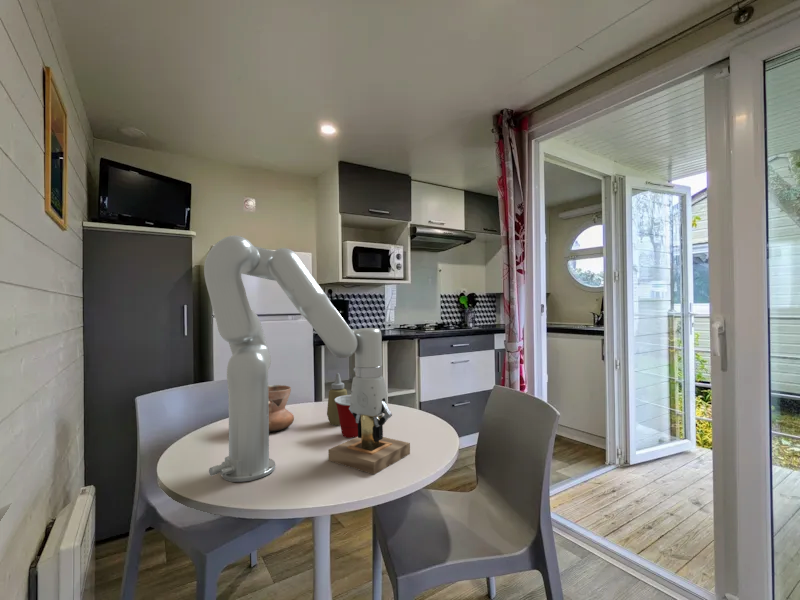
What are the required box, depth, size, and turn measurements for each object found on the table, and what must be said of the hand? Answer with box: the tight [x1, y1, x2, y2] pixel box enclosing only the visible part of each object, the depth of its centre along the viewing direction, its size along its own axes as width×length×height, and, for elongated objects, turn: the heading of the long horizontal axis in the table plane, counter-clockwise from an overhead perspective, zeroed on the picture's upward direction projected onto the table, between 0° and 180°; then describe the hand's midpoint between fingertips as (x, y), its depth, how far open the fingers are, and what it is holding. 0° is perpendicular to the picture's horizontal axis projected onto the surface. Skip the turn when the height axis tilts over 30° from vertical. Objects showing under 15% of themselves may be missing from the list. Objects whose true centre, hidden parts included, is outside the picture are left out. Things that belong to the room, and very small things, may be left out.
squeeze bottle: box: [326, 372, 348, 426], centre depth 135 cm, size 8×8×18 cm
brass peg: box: [361, 415, 379, 450], centre depth 103 cm, size 5×5×10 cm
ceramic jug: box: [268, 384, 295, 433], centre depth 131 cm, size 18×14×14 cm
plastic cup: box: [334, 394, 358, 439], centre depth 122 cm, size 11×11×12 cm
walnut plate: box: [327, 436, 411, 475], centre depth 103 cm, size 16×16×3 cm
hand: (370, 437), depth 103 cm, fingers closed on brass peg, 5 cm apart
